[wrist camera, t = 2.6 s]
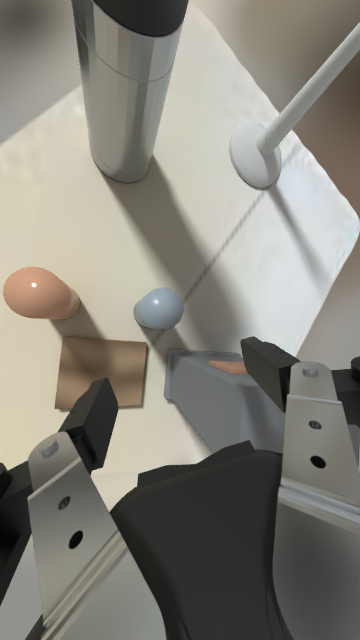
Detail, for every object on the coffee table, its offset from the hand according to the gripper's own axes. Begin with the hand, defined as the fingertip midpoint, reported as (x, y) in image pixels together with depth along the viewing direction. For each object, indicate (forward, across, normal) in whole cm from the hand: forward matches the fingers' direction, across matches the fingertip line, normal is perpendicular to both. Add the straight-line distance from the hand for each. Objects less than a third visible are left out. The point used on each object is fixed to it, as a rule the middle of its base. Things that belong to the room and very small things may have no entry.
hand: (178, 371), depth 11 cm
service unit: (+21, -4, +14) cm, 26 cm away
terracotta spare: (+20, +14, -5) cm, 25 cm away
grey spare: (+22, +3, +1) cm, 22 cm away
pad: (+18, +12, +7) cm, 23 cm away
